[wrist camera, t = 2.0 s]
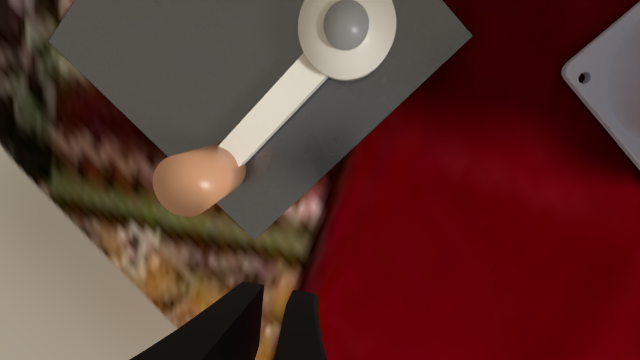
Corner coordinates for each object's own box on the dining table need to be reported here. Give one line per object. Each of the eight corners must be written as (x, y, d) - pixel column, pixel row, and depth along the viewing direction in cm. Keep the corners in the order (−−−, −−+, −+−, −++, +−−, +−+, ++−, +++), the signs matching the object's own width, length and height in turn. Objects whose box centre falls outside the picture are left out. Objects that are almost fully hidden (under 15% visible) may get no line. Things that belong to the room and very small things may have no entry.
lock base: (465, 40, 15) (474, 34, 14) (254, 237, 18) (247, 246, 17) (232, -230, 13) (221, -262, 12) (54, 45, 17) (32, 40, 16)
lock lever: (410, 34, 14) (431, 7, 10) (234, 209, 17) (199, 240, 13) (348, -35, 13) (347, -90, 10) (180, 157, 16) (127, 172, 13)
